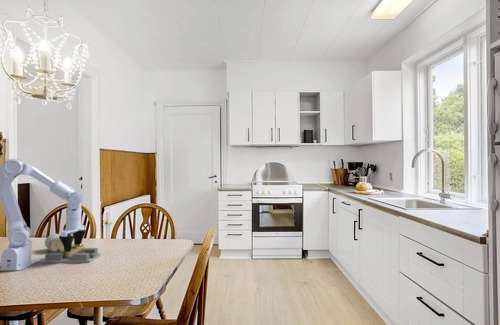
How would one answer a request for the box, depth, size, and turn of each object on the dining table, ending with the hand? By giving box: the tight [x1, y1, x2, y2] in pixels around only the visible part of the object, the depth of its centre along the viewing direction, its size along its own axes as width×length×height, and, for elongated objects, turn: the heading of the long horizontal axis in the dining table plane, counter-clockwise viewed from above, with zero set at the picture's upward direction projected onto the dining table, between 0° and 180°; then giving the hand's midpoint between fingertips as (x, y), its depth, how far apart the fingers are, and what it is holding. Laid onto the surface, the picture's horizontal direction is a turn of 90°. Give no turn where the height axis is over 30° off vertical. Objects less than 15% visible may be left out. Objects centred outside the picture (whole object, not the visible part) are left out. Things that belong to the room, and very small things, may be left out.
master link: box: [60, 243, 86, 258], centre depth 123 cm, size 4×9×6 cm, turn 93°
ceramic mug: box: [44, 233, 63, 253], centre depth 137 cm, size 11×8×8 cm
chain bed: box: [41, 247, 102, 264], centre depth 123 cm, size 10×20×4 cm, turn 93°
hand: (72, 249), depth 123 cm, fingers open, 7 cm apart
